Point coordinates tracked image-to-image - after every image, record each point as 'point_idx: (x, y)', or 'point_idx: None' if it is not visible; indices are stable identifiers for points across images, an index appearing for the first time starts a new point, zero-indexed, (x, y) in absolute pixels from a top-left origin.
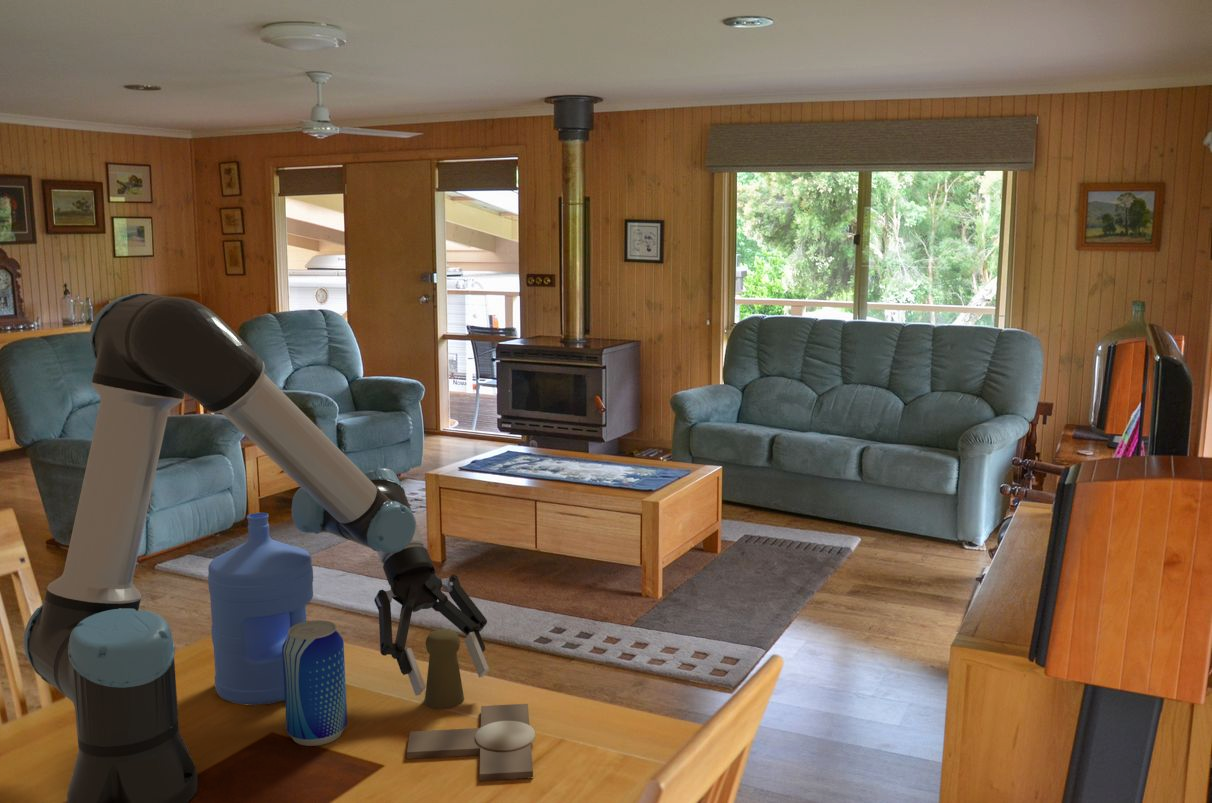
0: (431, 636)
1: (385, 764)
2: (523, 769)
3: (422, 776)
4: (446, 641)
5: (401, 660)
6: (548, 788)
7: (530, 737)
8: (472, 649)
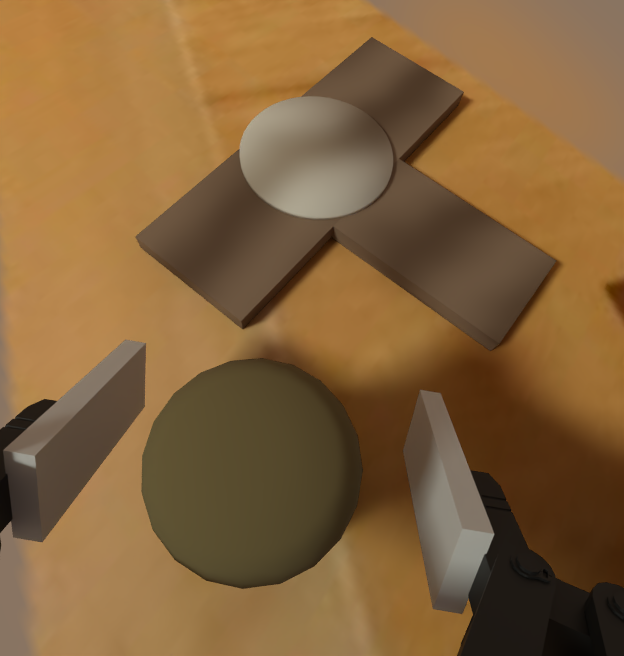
0: (336, 474)
1: (600, 287)
2: (382, 50)
3: (547, 192)
4: (292, 367)
5: (511, 519)
6: (369, 19)
7: (283, 107)
8: (88, 438)
